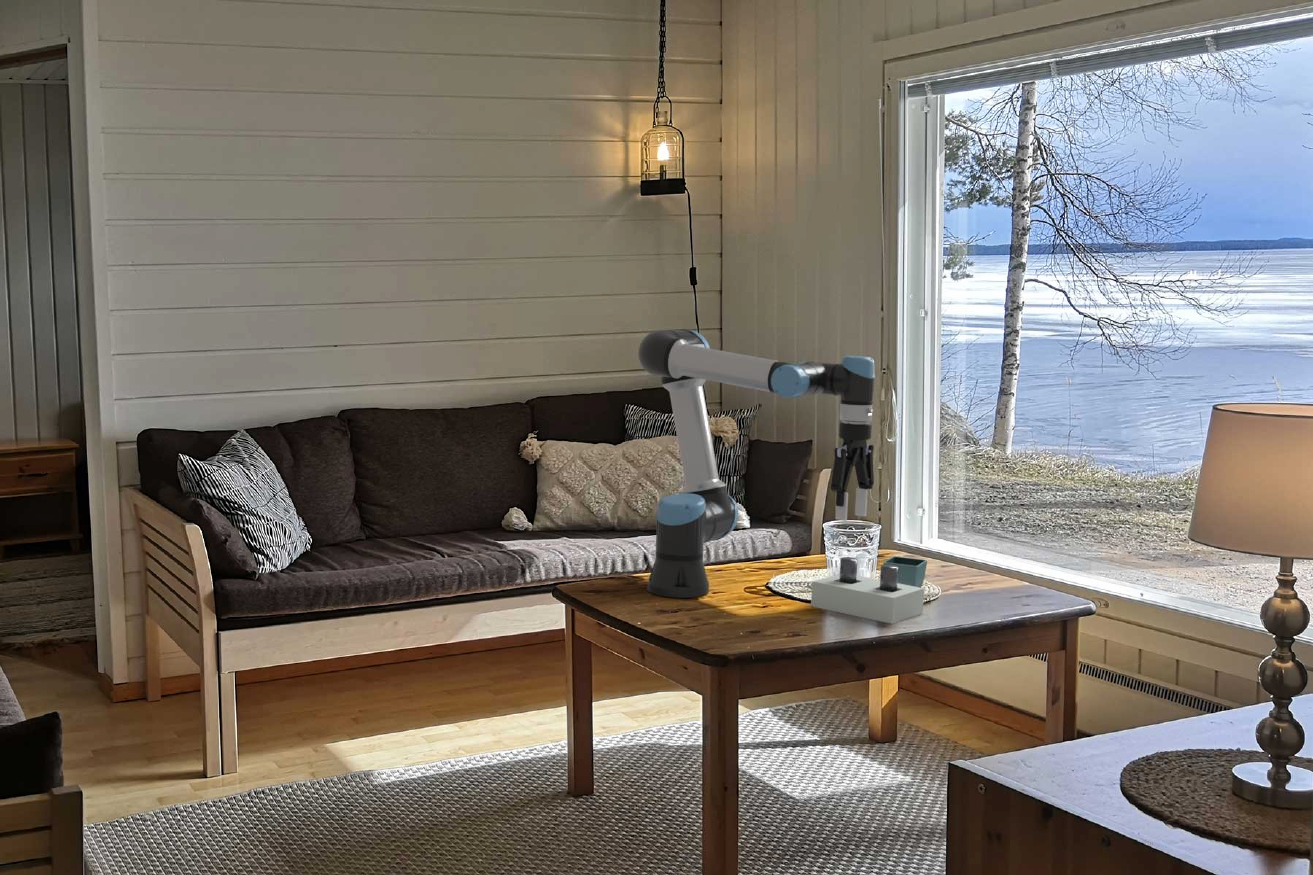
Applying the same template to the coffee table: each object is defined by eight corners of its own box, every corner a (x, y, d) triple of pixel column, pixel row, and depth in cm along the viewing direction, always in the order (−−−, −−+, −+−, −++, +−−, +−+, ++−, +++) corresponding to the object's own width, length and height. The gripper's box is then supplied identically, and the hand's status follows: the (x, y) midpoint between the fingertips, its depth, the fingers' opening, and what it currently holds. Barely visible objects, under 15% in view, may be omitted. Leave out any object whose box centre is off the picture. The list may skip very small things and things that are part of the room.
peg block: (810, 606, 309) (812, 581, 308) (842, 596, 319) (844, 572, 319) (892, 623, 295) (893, 597, 294) (922, 613, 305) (924, 588, 305)
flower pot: (880, 597, 320) (882, 561, 319) (891, 590, 328) (893, 555, 327) (915, 602, 316) (917, 566, 315) (925, 595, 324) (927, 560, 323)
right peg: (876, 591, 303) (877, 566, 302) (885, 588, 306) (886, 563, 305) (891, 594, 300) (892, 569, 299) (900, 591, 303) (901, 566, 302)
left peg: (836, 583, 310) (837, 558, 309) (845, 581, 313) (846, 556, 312) (850, 586, 307) (851, 561, 306) (859, 583, 310) (860, 559, 309)
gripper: (845, 426, 295) (840, 525, 298) (892, 421, 311) (887, 514, 314) (817, 423, 300) (813, 520, 303) (865, 418, 316) (860, 510, 318)
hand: (851, 517), depth 308 cm, fingers open, 8 cm apart
